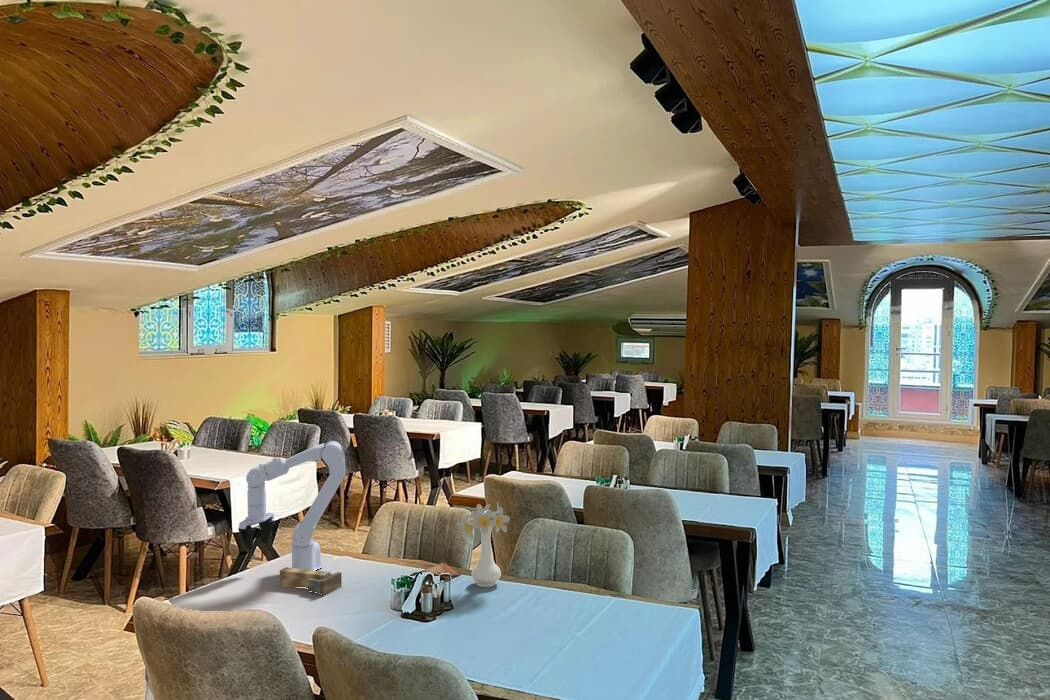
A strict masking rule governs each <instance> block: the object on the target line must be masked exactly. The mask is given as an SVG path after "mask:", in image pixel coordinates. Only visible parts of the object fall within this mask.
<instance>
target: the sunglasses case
mask: <svg viewBox="0 0 1050 700" xmlns="http://www.w3.org/2000/svg"><path fill="white" fill-rule="evenodd" d="M418 572H431V573H433V574H434V576H439V575H440V574H441V573H449V574H450V575H451V577H452V579H454V578H457V577H460V576H461V575H462V574H461V573H459V572H457V570H455V569H454V568H452V567H450V565H448V564H447V563H446V562H445V561H442V562H441V563H439V564H436V565H432V566H430V567H427V568H425V569H422V570H420V571H417V572H413V573H411V574H409V576H415V575H416V574H417V573H418Z"/></svg>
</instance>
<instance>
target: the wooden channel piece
mask: <svg viewBox="0 0 1050 700" xmlns="http://www.w3.org/2000/svg"><path fill="white" fill-rule="evenodd" d="M342 580H343V579H342V572H338V571H337V572H335V573H331V576H329V577H326V578H324V579H322V580H317V579H308V590H307V592H308V591H312V592H317V593H320V594H322V595H325V596H327V595H329V594H331V593H333V592H335V591H337V590H338V588H339V589H341V588H342V584H343V581H342ZM340 587H341V588H340ZM336 589H337V590H336ZM334 590H335V591H334ZM332 591H333V592H332ZM330 592H331V593H330ZM328 593H329V594H328ZM320 594H319V595H320ZM326 594H327V595H326Z"/></svg>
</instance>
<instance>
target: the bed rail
mask: <svg viewBox="0 0 1050 700" xmlns="http://www.w3.org/2000/svg"><path fill="white" fill-rule="evenodd" d="M331 574H332V573H331V572H330V571H324V570H323V571H322V570H317V571H315V570H306V569H297V568H292V567H288V566H287V567H284V568H282V569H280V570H279V587H281V586H285V587H284V588H289V587H306V588H308V579H317V580H322V579H324V578H326V577H329V576H331Z"/></svg>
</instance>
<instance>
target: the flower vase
mask: <svg viewBox="0 0 1050 700" xmlns="http://www.w3.org/2000/svg"><path fill="white" fill-rule="evenodd" d="M490 505H491V504H489V503H488V504H486V505H485V506H484V508H483V506H482V505H481V503H477V504H476V507H475V508H476V511H474V510H472V511H471V512H470V514H469V518H471V520H470V521H468V520H467V519H466V518H465V517H464V516H463V517H462V518H461V520H462V522H457V523H456V526H457V527H458V528H459V529H461V530H463V531H462V539H466V538H467V537H468V536H469V538H470V539H471V540H472V541H475V536H474V535H475V534H474V530H475V529H480V535H481V536H480V538H481V542H480V544H481V545H480V556H479V560H478V562H477V563H476V564H475V565H474V566H473V568H472V569H471V579H472V580H474V582H475V583H476V586H477V587H480V588H492V587H494V586H496V585H497V582H498V581H499V580H500V577H502V572H501V569H500V567H499V566H498V565H497V564H496V563H495V560H494V558H493V555H492V530H493V527H495V532H496V533H499V531H501V530H502V531H503V532H504V533H507V532H508V527H507V526H506V523H507V524H508V523H509V522H510V519H511V517H510V516H509V515H504V509H503V508H502V506H500V505H499V503H498V502H496V505H497V506H496V507H497V508H496V511H492V510H490V507H491V506H490Z"/></svg>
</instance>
